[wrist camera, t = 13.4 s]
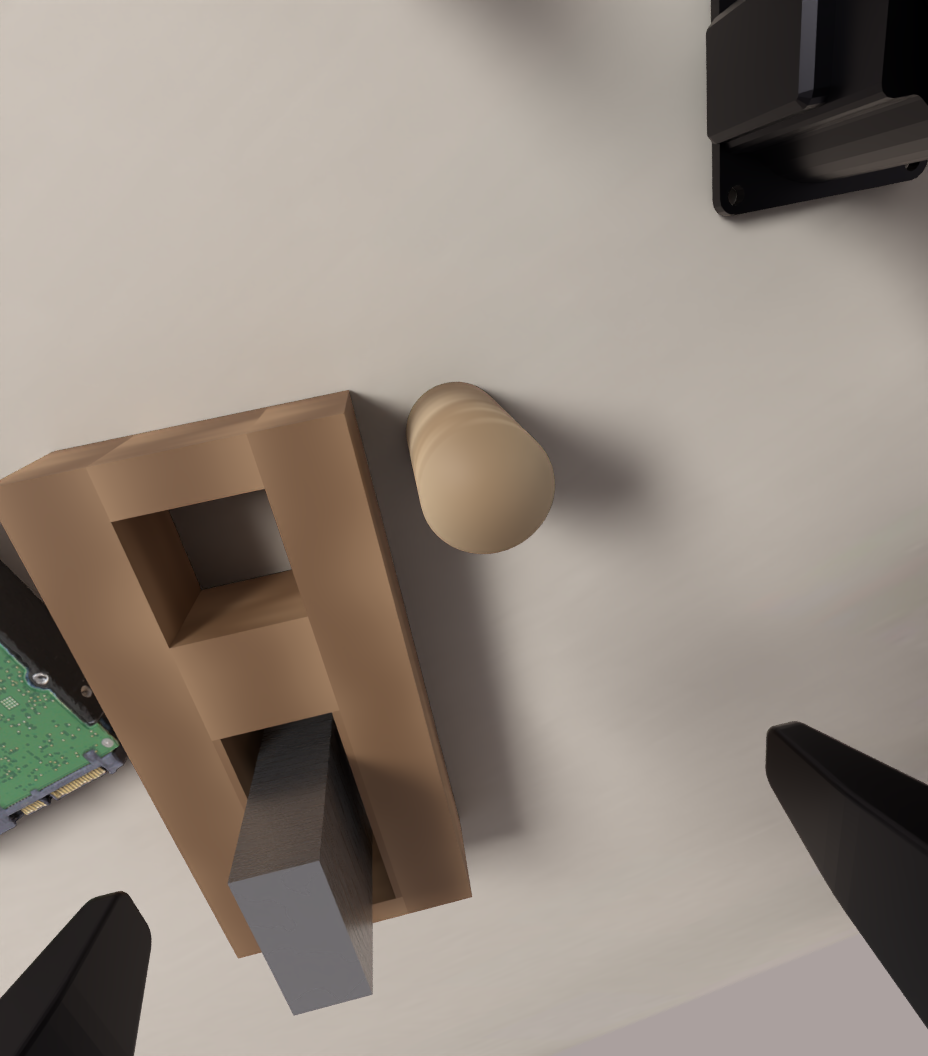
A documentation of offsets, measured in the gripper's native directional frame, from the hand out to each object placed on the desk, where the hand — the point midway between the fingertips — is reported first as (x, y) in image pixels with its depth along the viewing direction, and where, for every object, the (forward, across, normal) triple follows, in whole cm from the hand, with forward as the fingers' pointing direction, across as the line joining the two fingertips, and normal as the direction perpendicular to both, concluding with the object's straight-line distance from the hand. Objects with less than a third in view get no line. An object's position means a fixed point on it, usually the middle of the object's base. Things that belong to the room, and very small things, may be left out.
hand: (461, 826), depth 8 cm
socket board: (+13, +6, +5) cm, 15 cm away
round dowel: (+13, -2, -2) cm, 13 cm away
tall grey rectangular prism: (+13, +6, +9) cm, 17 cm away
